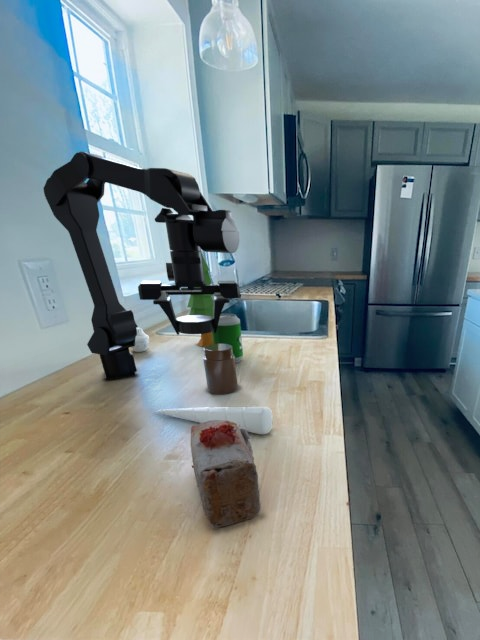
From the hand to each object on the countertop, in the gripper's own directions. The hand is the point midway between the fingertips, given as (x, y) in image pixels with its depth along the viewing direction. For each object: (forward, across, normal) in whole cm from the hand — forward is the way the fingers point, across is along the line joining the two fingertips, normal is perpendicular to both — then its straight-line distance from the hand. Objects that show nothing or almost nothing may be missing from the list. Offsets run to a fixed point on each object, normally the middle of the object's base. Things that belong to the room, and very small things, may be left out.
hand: (197, 333), depth 77 cm
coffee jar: (+12, -4, +2) cm, 13 cm away
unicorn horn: (+12, -1, +20) cm, 23 cm away
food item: (+12, -2, +41) cm, 43 cm away
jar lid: (-3, 0, 0) cm, 3 cm away
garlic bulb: (+13, +17, -36) cm, 42 cm away
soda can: (+12, -7, -19) cm, 24 cm away
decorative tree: (+13, -2, -38) cm, 40 cm away
